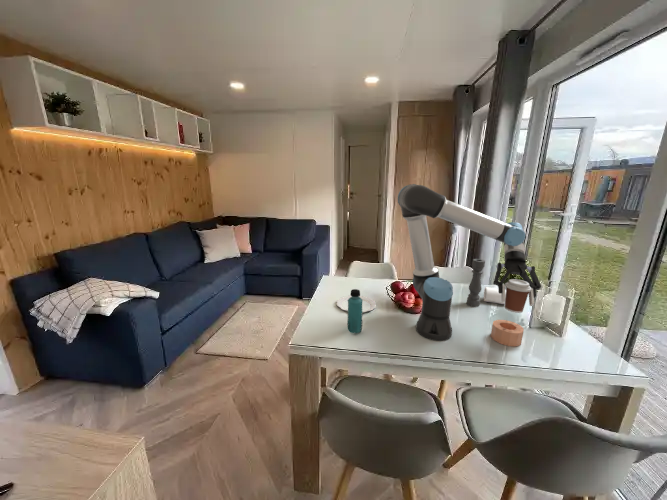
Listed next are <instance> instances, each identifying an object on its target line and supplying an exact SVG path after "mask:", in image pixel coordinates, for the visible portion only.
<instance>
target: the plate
mask: <svg viewBox="0 0 667 500" xmlns="http://www.w3.org/2000/svg"><path fill="white" fill-rule="evenodd" d="M350 297H352V296H351V295H347V296H342V297H340V298H339V299H337V300H336V306H337V307H338V308H340V309H341V310H342V311H346V312H348V309H346V308H344V307H343V304H344V302H346V301H347V302H348V299H349V298H350ZM359 297H360V298H361V299H362V300H363V301H364V302H367V303H368V304H369V305H370V307H369V308H368V309H367V310H362V314H363V313H366V312H371V311H372V310H374V309H375V308H376V307H377V304H376V301H375V300H374V299H372V298H370V297H369V296H363V295H360V296H359Z"/></svg>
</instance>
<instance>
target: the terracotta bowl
mask: <svg viewBox="0 0 667 500" xmlns="http://www.w3.org/2000/svg"><path fill="white" fill-rule="evenodd" d="M524 329H525V328H524V327H523V326H522V325H520V324H519V323H516V322H514V321H511V320H507V319H496V320H493V322H492V326H491V331H490V338H491V339H492V340H493V341H495V342H497V343H498V344H501V345H504V346H506V347H507V346H508V347H519V346H521V345H522V341H523V336H524V331H525V330H524Z"/></svg>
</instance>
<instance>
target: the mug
mask: <svg viewBox="0 0 667 500" xmlns="http://www.w3.org/2000/svg"><path fill="white" fill-rule="evenodd" d="M505 299H506V289H505ZM483 301H484V302H487V303H494V304H500V305H505V301H504V302H502V301H501V293H499V291H498V287H497V288H496V287H489V286H485V287H484V291H483Z"/></svg>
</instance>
